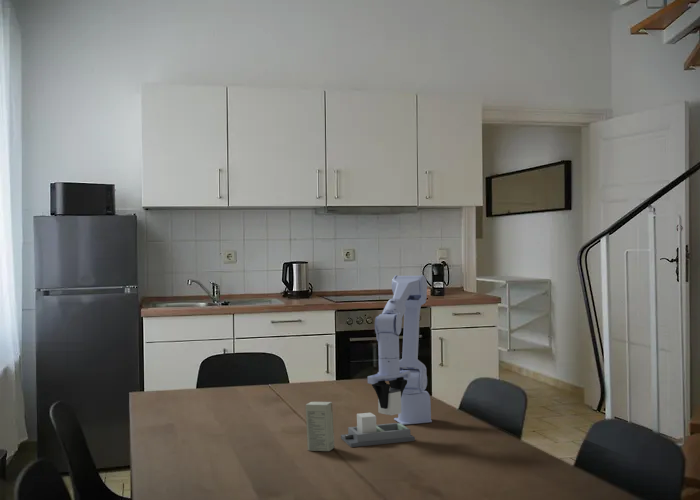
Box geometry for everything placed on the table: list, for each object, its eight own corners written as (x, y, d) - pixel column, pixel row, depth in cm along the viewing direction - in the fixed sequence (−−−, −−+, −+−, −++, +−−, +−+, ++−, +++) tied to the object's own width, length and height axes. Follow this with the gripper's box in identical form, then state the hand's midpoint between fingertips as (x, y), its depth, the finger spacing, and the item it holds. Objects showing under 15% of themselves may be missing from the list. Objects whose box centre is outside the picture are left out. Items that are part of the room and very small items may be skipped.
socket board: (402, 432, 214) (401, 407, 214) (414, 440, 205) (414, 415, 205) (340, 438, 209) (339, 413, 209) (350, 447, 200) (349, 420, 200)
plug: (388, 410, 212) (388, 387, 212) (401, 413, 208) (400, 389, 208) (378, 412, 209) (377, 389, 209) (390, 415, 205) (390, 391, 205)
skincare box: (335, 447, 200) (333, 401, 200) (329, 452, 196) (328, 404, 196) (312, 446, 202) (311, 400, 202) (306, 450, 198) (305, 403, 198)
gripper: (397, 353, 216) (398, 400, 216) (359, 359, 207) (360, 408, 207) (415, 355, 211) (416, 404, 211) (377, 361, 201) (378, 412, 201)
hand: (390, 406), depth 208 cm, fingers closed on plug, 4 cm apart
